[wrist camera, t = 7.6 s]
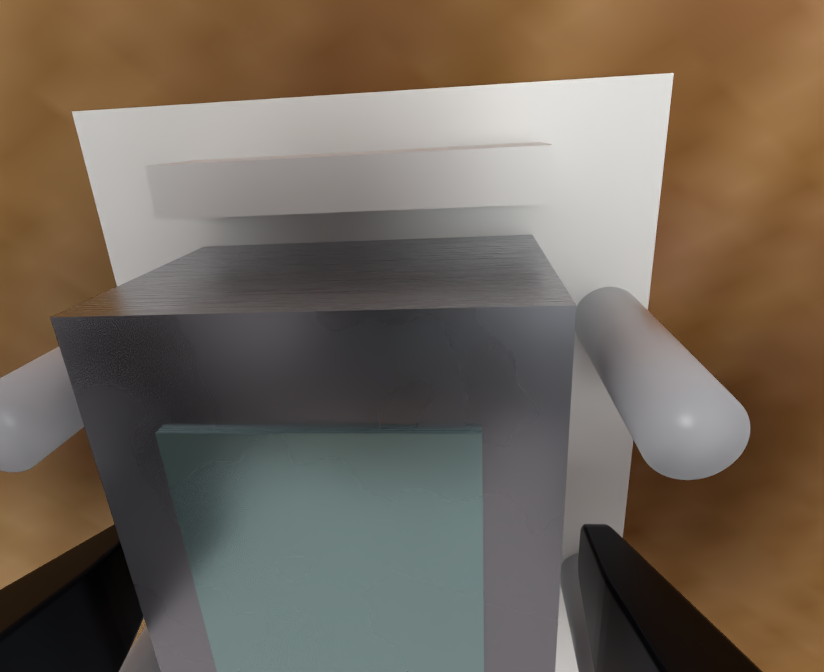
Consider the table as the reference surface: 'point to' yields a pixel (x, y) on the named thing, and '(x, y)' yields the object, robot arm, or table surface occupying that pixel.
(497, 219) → the white peg stand
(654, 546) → the table surface
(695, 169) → the table surface
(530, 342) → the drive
